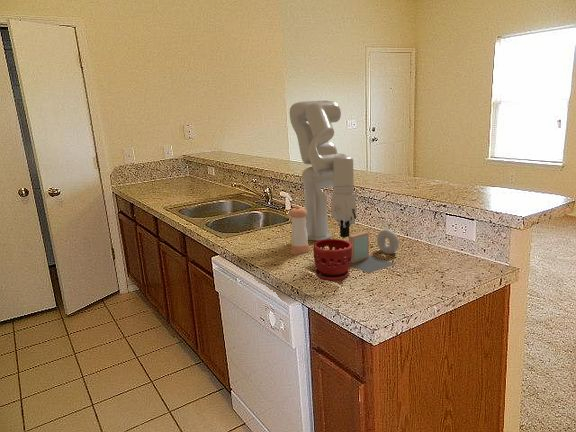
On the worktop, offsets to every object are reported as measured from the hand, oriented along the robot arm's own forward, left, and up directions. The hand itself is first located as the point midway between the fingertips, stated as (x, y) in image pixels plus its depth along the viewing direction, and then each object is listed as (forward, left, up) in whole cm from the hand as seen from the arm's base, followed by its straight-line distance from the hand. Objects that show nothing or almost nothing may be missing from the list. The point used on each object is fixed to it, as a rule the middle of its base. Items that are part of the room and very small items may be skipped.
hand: (344, 236), depth 169 cm
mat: (+12, 0, -8) cm, 14 cm away
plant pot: (+13, -16, -8) cm, 22 cm away
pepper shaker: (-16, -10, -8) cm, 21 cm away
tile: (+8, 0, -7) cm, 11 cm away
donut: (+9, +14, -8) cm, 18 cm away
